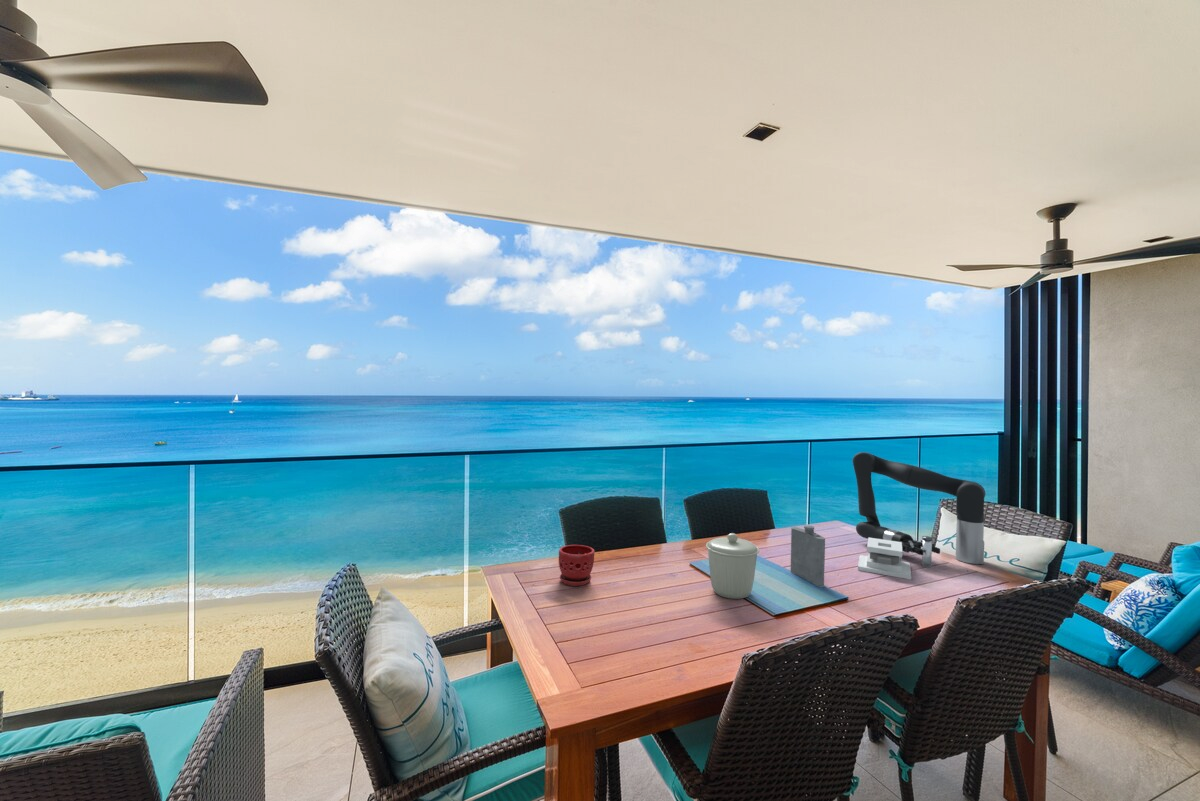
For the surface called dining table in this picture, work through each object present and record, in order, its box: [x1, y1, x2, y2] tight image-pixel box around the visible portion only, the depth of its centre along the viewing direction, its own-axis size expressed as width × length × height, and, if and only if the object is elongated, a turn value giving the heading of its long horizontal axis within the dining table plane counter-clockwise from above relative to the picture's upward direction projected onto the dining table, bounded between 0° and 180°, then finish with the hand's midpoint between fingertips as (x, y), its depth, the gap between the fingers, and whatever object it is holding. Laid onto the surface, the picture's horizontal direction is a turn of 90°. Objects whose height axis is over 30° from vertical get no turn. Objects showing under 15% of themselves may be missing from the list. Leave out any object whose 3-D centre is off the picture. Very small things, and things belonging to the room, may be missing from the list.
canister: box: [705, 532, 760, 600], centre depth 172 cm, size 18×18×21 cm
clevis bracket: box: [857, 537, 912, 580], centre depth 198 cm, size 18×17×10 cm
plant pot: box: [558, 544, 595, 587], centre depth 182 cm, size 13×13×12 cm
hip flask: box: [789, 524, 826, 588], centre depth 187 cm, size 16×4×20 cm, turn 20°
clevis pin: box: [921, 535, 934, 569], centre depth 201 cm, size 4×4×12 cm
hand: (931, 552), depth 199 cm, fingers open, 8 cm apart
